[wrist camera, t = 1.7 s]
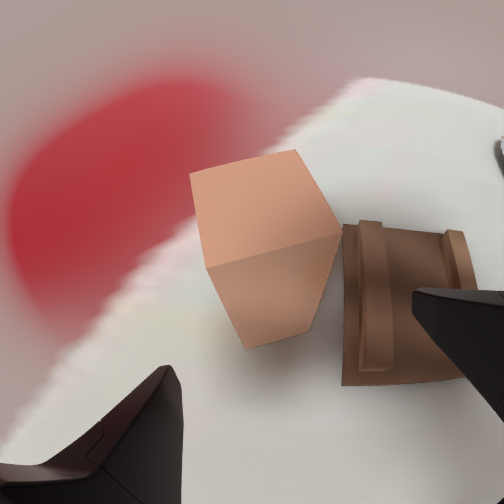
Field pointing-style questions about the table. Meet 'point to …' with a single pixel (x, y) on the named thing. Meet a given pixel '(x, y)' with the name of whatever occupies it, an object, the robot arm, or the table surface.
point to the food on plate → (502, 145)
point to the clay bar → (266, 243)
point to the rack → (396, 302)
